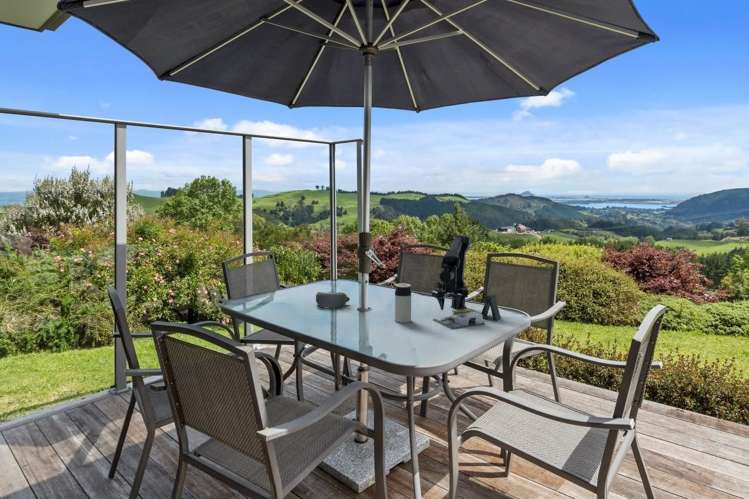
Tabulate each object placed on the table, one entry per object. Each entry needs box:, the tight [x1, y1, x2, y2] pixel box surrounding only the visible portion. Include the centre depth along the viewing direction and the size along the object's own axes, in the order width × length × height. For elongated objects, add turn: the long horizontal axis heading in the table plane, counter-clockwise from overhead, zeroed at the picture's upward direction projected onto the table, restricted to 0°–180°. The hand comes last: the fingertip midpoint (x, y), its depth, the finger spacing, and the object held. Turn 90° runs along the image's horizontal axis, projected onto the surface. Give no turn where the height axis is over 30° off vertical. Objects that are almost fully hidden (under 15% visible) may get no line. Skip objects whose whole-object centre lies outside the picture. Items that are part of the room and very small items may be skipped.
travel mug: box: [394, 282, 412, 324], centre depth 212 cm, size 8×8×18 cm
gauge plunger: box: [442, 308, 472, 321], centre depth 209 cm, size 16×8×5 cm, turn 115°
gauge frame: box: [432, 311, 486, 330], centre depth 211 cm, size 19×16×5 cm
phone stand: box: [480, 293, 502, 322], centre depth 217 cm, size 9×6×12 cm, turn 54°
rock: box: [315, 291, 350, 309], centre depth 242 cm, size 18×11×8 cm, turn 88°
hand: (449, 309), depth 222 cm, fingers open, 9 cm apart
